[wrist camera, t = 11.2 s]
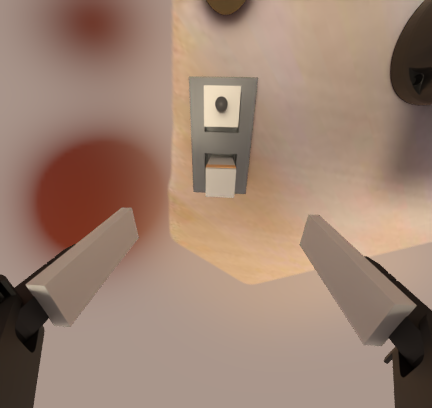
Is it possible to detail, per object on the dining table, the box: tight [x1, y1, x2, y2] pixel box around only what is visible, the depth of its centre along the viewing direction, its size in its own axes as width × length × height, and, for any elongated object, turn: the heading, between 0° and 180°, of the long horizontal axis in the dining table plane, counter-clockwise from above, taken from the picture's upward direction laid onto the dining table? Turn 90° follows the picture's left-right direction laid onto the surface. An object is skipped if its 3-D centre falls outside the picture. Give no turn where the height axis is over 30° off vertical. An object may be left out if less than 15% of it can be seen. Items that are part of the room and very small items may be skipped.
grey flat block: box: [189, 77, 258, 194], centre depth 29 cm, size 10×18×4 cm, turn 179°
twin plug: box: [204, 85, 241, 127], centre depth 22 cm, size 4×4×14 cm
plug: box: [206, 155, 236, 198], centre depth 27 cm, size 4×4×11 cm
